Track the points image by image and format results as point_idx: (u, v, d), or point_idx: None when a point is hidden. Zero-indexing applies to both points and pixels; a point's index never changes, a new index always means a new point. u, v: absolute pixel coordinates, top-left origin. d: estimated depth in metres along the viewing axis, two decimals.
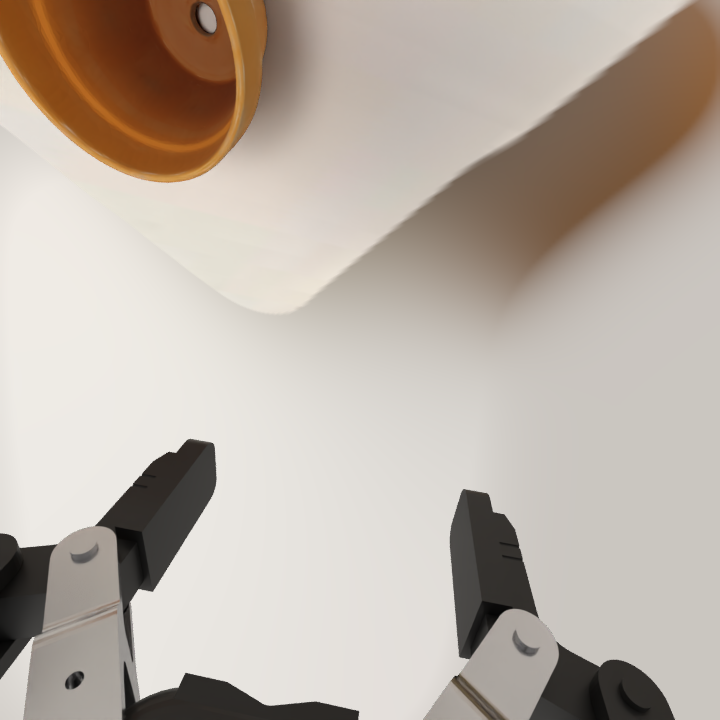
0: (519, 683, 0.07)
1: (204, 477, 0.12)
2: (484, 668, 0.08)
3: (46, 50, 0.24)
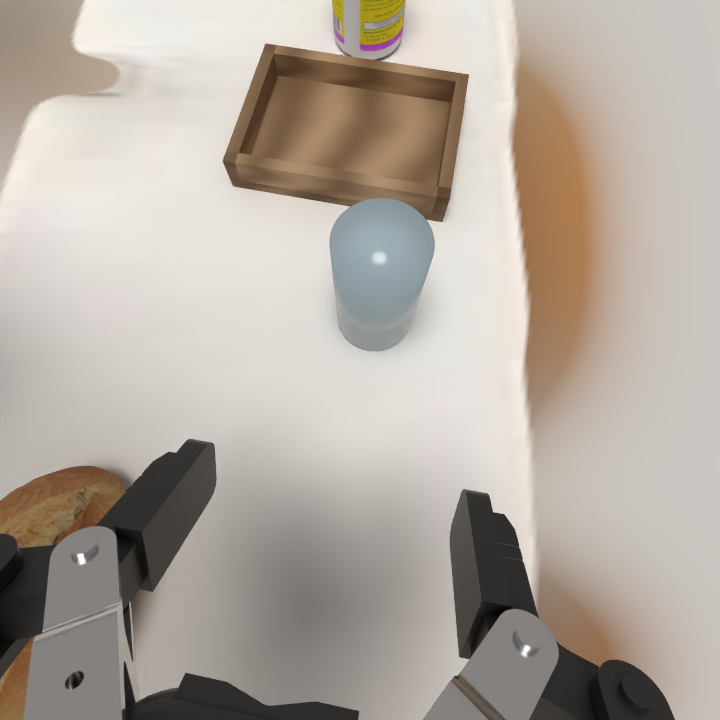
0: (519, 683, 0.07)
1: (204, 477, 0.12)
2: (484, 668, 0.08)
3: None
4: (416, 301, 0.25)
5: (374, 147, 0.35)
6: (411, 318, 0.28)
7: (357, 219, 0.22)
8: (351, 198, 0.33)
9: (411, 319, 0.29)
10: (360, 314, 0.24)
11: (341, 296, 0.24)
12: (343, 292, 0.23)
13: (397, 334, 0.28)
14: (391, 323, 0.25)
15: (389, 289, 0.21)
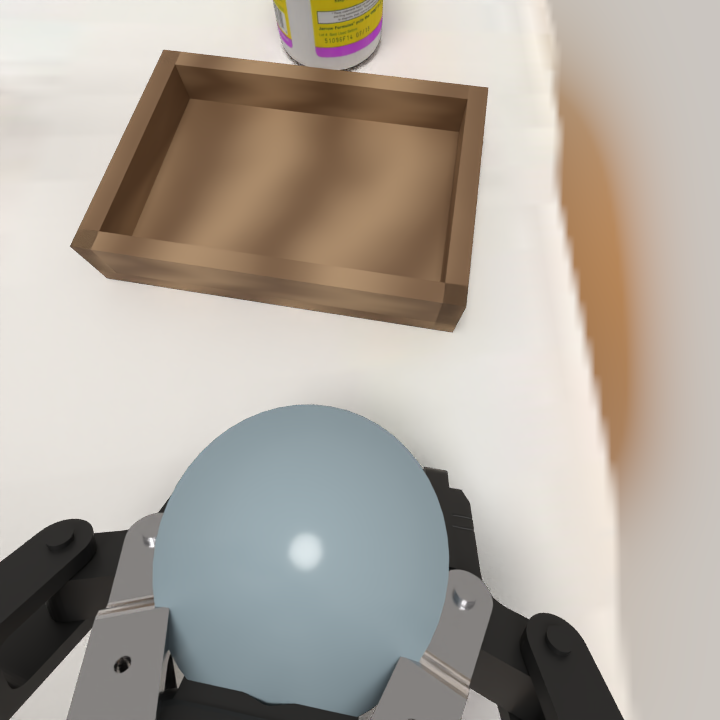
0: (463, 636, 0.08)
1: None
2: None
3: None
4: None
5: (337, 208, 0.21)
6: None
7: (237, 472, 0.08)
8: (297, 299, 0.19)
9: None
10: None
11: None
12: None
13: None
14: None
15: None
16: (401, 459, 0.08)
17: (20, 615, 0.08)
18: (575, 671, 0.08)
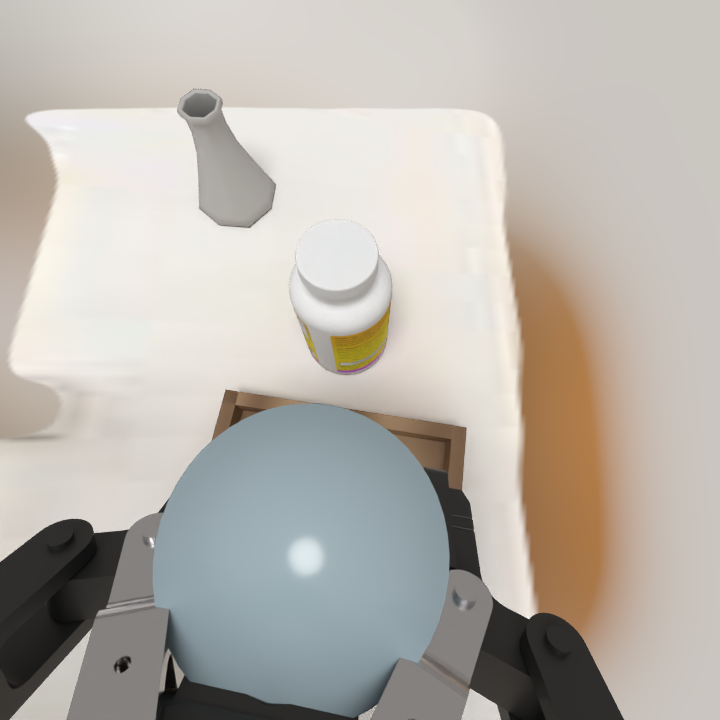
0: (463, 636, 0.08)
1: None
2: None
3: None
4: None
5: None
6: None
7: (236, 471, 0.08)
8: None
9: None
10: None
11: None
12: None
13: None
14: None
15: None
16: (401, 458, 0.08)
17: (20, 615, 0.08)
18: (575, 671, 0.08)
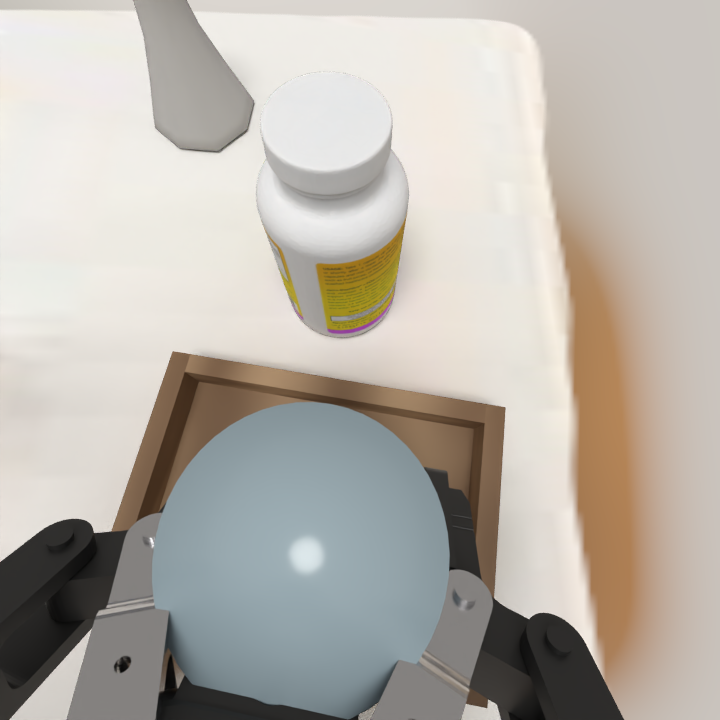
0: (463, 636, 0.08)
1: None
2: None
3: None
4: None
5: None
6: None
7: (236, 469, 0.08)
8: None
9: None
10: None
11: None
12: None
13: None
14: None
15: None
16: (401, 456, 0.08)
17: (20, 615, 0.08)
18: (575, 671, 0.08)
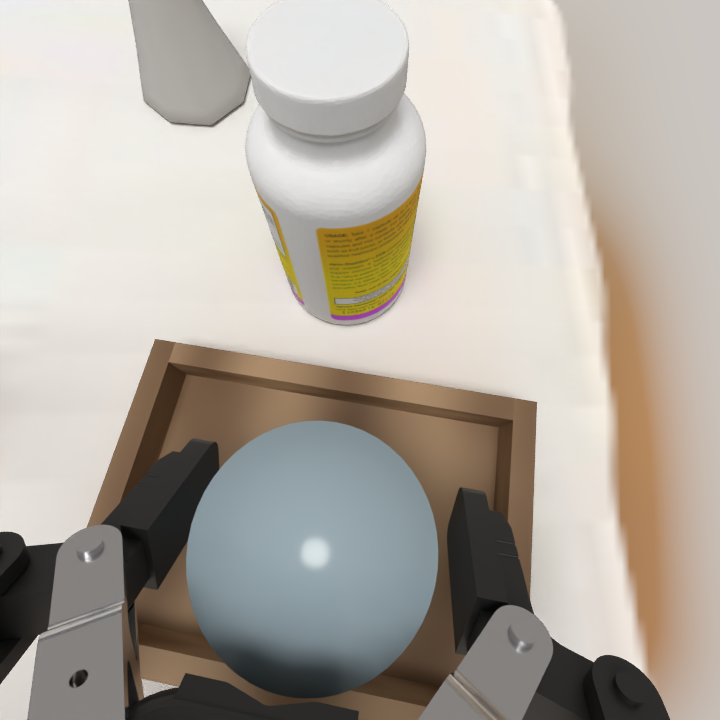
0: (514, 678, 0.07)
1: (208, 477, 0.13)
2: (479, 663, 0.08)
3: None
4: None
5: None
6: None
7: (256, 480, 0.09)
8: None
9: None
10: None
11: None
12: None
13: None
14: None
15: (326, 696, 0.08)
16: (397, 467, 0.10)
17: None
18: None
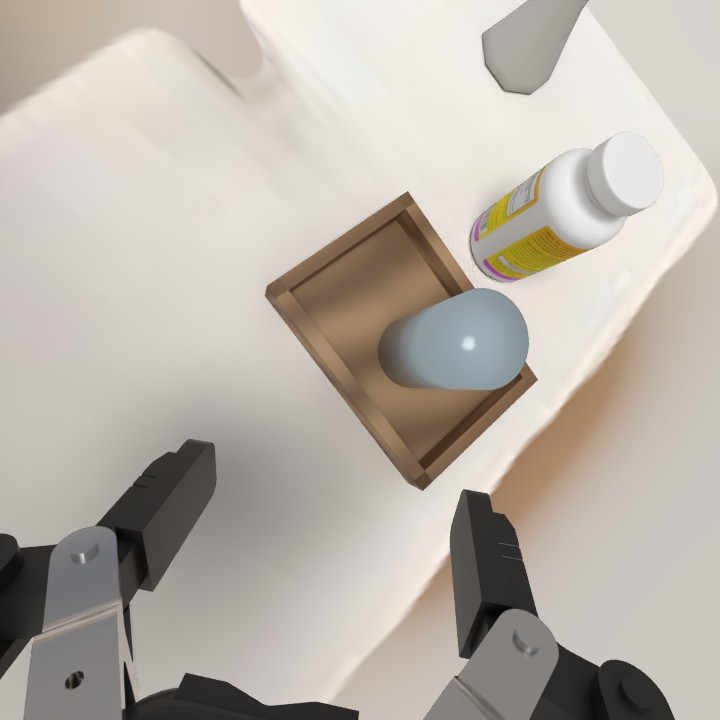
0: (519, 683, 0.07)
1: (204, 477, 0.12)
2: (484, 668, 0.08)
3: None
4: None
5: None
6: None
7: (482, 303, 0.22)
8: (352, 406, 0.30)
9: None
10: (415, 364, 0.25)
11: (415, 340, 0.24)
12: (421, 342, 0.23)
13: (421, 388, 0.29)
14: (429, 386, 0.26)
15: (461, 381, 0.22)
16: (525, 340, 0.23)
17: None
18: None
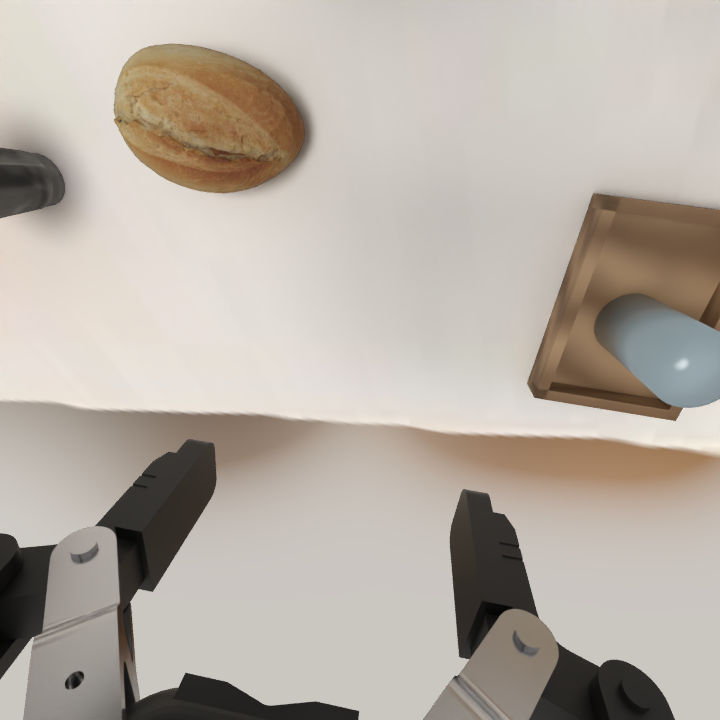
0: (519, 683, 0.07)
1: (204, 478, 0.12)
2: (484, 668, 0.08)
3: None
4: None
5: None
6: None
7: None
8: (555, 315, 0.37)
9: None
10: (631, 339, 0.31)
11: (650, 327, 0.29)
12: (653, 333, 0.29)
13: (608, 351, 0.35)
14: (620, 357, 0.32)
15: (650, 378, 0.28)
16: (718, 396, 0.28)
17: None
18: None
